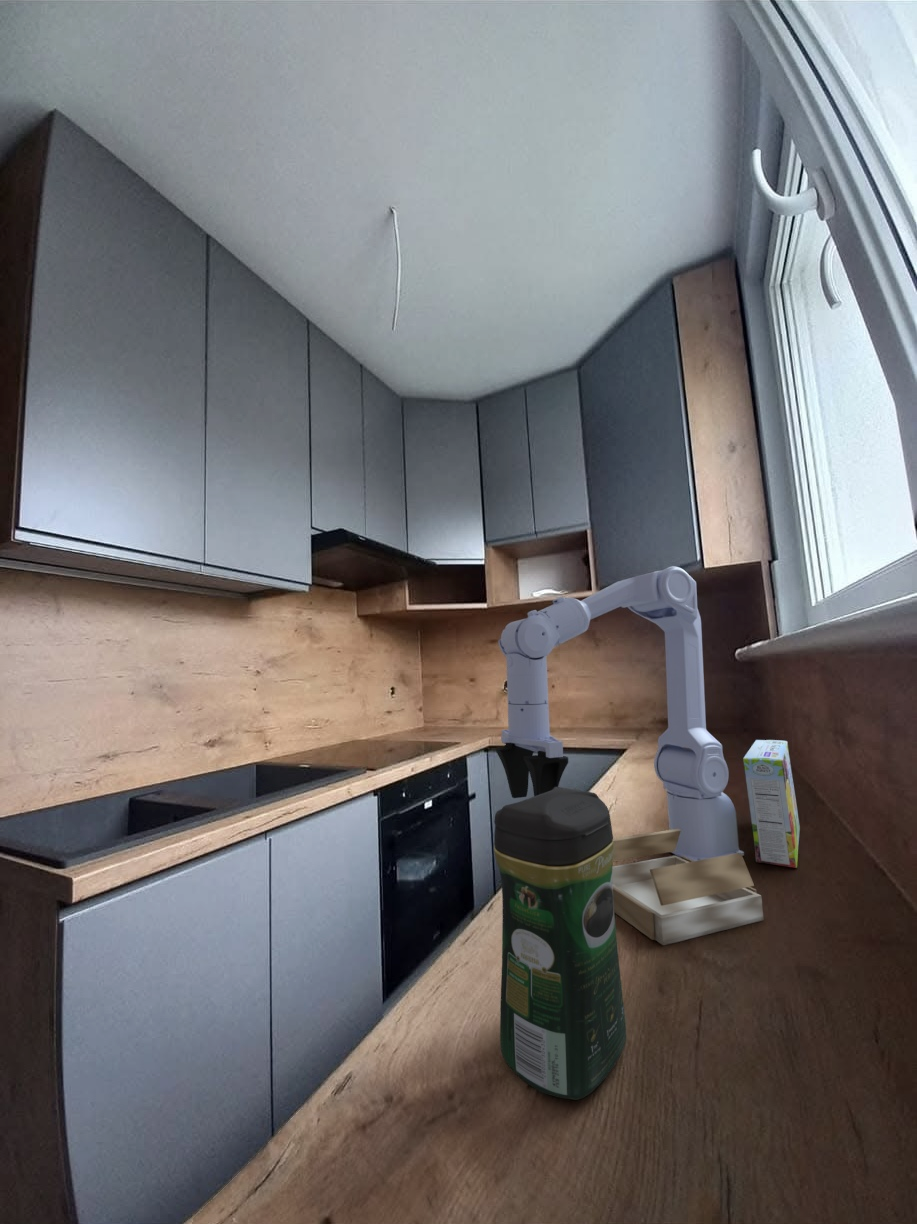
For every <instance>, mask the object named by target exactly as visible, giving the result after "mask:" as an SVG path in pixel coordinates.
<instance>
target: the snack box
mask: <svg viewBox="0 0 917 1224" xmlns="http://www.w3.org/2000/svg"><path fill="white" fill-rule="evenodd" d="M789 751H790V750H789V744H788V741H787V740H779V739H778V740H777V739H776V740H775V739H766V740H765V739H755V741H754V742H753V743H752V744H751V747H750V748H749V750H748V751H747V752H746V753H745V755H744V757H743V758H742V760H743V768H744V774H745V782H746V788H747V797H748V804H749V811H750V812H749V813H750V821H751V828H752V835H753V843H754V852H755V854H754V855H755V862H756V863H761V864H768V865H776V866H781V867H789V868H795V869H796V868H798V859H799V857H798V856H799V855H798V854H799V844H800V843H799V841H800V831H801V826H800V820H799V813H798V806H797V799H796V791H795V786H794V785H795V784H794V779H793V772H792V765H791V758H790V754H789Z"/></svg>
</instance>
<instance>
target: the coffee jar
mask: <svg viewBox="0 0 917 1224" xmlns="http://www.w3.org/2000/svg"><path fill="white" fill-rule="evenodd" d="M613 835H614V834H613V829H612V821H611V814H610V811H609V808H608V806H607V805H606V803H605V802H604V801H603V800H602V799H600V797H599V796H598V794H597V793H594V792H591V791H585V790H580V789H573V788H567V787H561V786H558V787H554V788H553V789H552V790H551V791H548V792H546V793H543V794H540V795H537V796H534V795H533V796H532V797H529V798H526V799H523V800H521V801H518V802H514V803H510V804H505V805H504V806H502V807H501V808H500V809H498V810H497V811H496V812H495V814H494V842H493V843H494V846H493V852H494V858H495V861H496V864H497V867H498V870H499V874H500V881H501V882H500V883H501V894H502V895H501V896H502V898H501V899H502V902H501V903H502V910H501V911H502V913H501V914H502V917H501V918H502V929H501V930H502V932H501V933H502V934H501V935H502V936H501V938H502V940H501V941H502V942H501V945H502V947H501V953H502V954H501V980H500V982H501V983H500V1007H499V1008H500V1009H499V1010H500V1014H499V1016H500V1017H499V1019H500V1023H499V1024H500V1025H499V1028H500V1029H499V1031H500V1033H499V1034H500V1035H499V1037H500V1042H499V1044H500V1045H499V1046H500V1050H501V1051H500V1052H501V1054H502V1057H503V1059H504V1061H505V1063H506V1064H507V1065H508V1067H509V1068H510V1069H511V1070H512V1071H513V1072H514V1073H515V1074H516V1075H517V1077H519V1079H521V1080H523V1081H524V1082H525V1083H526V1084H528V1085H529V1086H530V1087H532V1088H533V1089H535V1090H537V1091H538V1092H540V1093H542V1094H544V1095H550V1096H553V1097H556V1098H560V1099H565V1100H566V1099H567V1100H574V1101H575V1100H576V1101H577V1100H581V1099H583V1098H585V1097H586V1096H589V1095H590V1094H591V1093H592V1092H594V1090H595V1089H596V1088H597V1087H599V1086H600V1085H601V1084H602V1082H604V1080H605V1079H606V1078H607V1077H608V1075H609V1074H610V1073H611V1071H612V1070H613V1068H614V1067H615V1066H616V1063H617V1062H618V1061H619V1059H620V1056H622V1055H621V1054H622V1052H623V1051H624V1047H625V1045H626V1042H627V1026H626V1015H625V1003H624V996H623V995H624V994H623V987H622V985H623V984H622V979H621V970H620V962H619V961H620V959H619V950H618V949H619V948H618V938H617V928H616V917H615V912H614V903H613V886H612V867H613V865H614V864H613V863H614V862H613V839H614V836H613Z"/></svg>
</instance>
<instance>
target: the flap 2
mask: <svg viewBox="0 0 917 1224" xmlns="http://www.w3.org/2000/svg"><path fill="white" fill-rule="evenodd" d="M650 873H651V876H652V879H653V882H654V885H655V888H656V891H657V895H658V898H659V901H660V904H661V906H663V905H668V904H672V903H677V902H682V901H686V900H691V899H695V898H700V897H705V896H709V895H714V894H718V893H723V892H727V891H732V890H737V889H741V888H746V887H755V885H754V882H753V879H752V877H751V874H750V872H749V869H748V867H747V865H746V862H745V859H744V857H743V856H742V855H741V853H736V854H731V855H725V856H720V857H714V858H709V859H704V860H698V861H693V862H688V863H682V864H677V865H671V866H666V867H661V868H655V869H650Z"/></svg>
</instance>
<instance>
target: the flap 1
mask: <svg viewBox="0 0 917 1224" xmlns="http://www.w3.org/2000/svg"><path fill="white" fill-rule="evenodd" d="M680 832H681V830H680V829H679V828H678V829H672V830H669V829H666V830H660V831H654V832H648V833H647V832H646V833H640V834H635V835H627V836H621V837H615V838H614V837H613V863H614V862H619V861H626V860H630V859H636V858H641V857H648V856H655V855H659V854H660V855H661V854H666V853H671V852H672V851H675V848H676V845H677V842H678V839H679V835H680Z"/></svg>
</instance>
